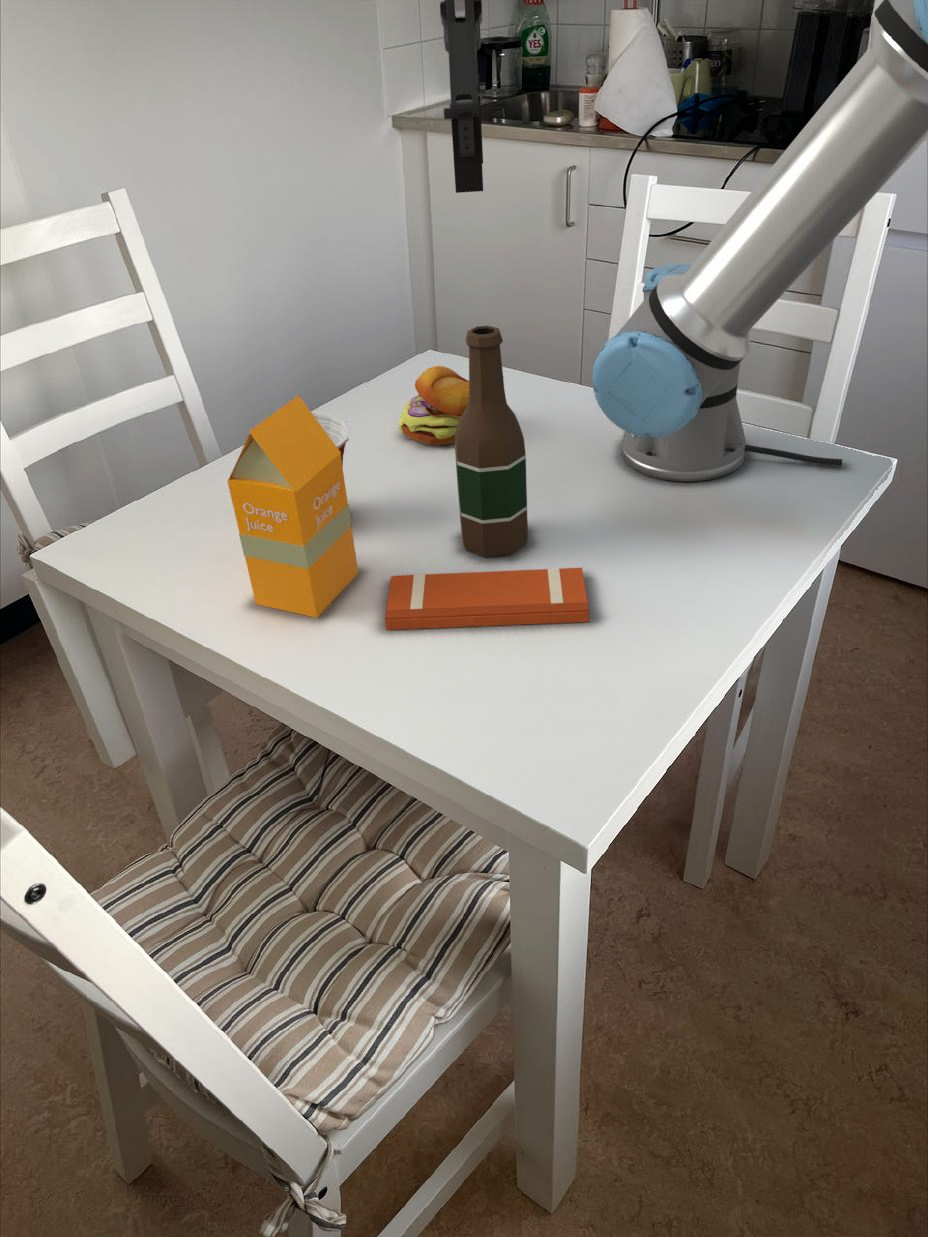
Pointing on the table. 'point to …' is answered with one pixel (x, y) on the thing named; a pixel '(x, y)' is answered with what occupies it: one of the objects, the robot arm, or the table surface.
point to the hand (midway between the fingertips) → (470, 176)
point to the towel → (487, 599)
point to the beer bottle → (490, 456)
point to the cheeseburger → (435, 406)
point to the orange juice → (293, 513)
